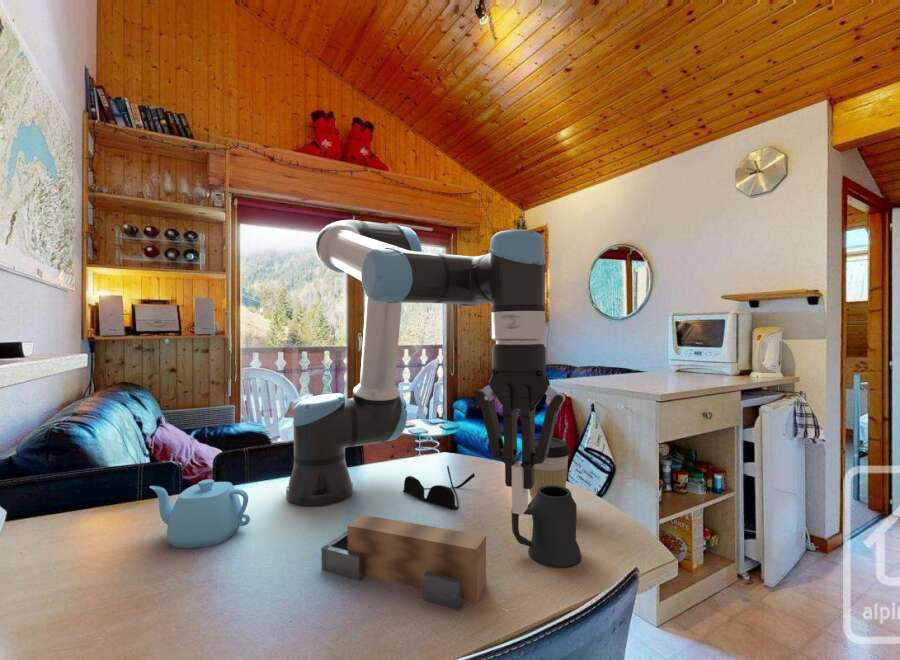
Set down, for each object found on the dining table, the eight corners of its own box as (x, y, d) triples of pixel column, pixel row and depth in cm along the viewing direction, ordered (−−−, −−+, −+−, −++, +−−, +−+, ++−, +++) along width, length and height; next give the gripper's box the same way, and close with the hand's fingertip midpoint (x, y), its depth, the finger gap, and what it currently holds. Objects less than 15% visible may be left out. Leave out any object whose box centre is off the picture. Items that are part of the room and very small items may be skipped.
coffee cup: (566, 503, 99) (566, 437, 99) (574, 523, 89) (574, 449, 89) (522, 502, 100) (522, 436, 100) (525, 521, 90) (525, 448, 90)
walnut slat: (347, 574, 72) (347, 525, 72) (363, 561, 76) (362, 514, 76) (477, 605, 64) (476, 549, 64) (486, 587, 68) (485, 535, 68)
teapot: (166, 472, 90) (259, 468, 92) (166, 525, 90) (259, 520, 92) (129, 496, 77) (237, 490, 79) (130, 557, 77) (238, 550, 79)
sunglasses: (491, 495, 106) (491, 474, 106) (451, 514, 95) (451, 491, 95) (439, 479, 117) (439, 460, 117) (398, 495, 106) (398, 474, 106)
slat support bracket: (321, 572, 72) (321, 547, 72) (355, 547, 80) (355, 525, 80) (359, 583, 69) (358, 557, 69) (390, 556, 77) (390, 533, 77)
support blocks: (423, 602, 64) (423, 574, 64) (450, 571, 72) (450, 546, 72) (458, 612, 62) (458, 584, 62) (482, 579, 70) (481, 553, 70)
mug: (569, 540, 82) (569, 480, 82) (590, 567, 73) (590, 499, 73) (506, 545, 81) (505, 483, 81) (519, 572, 72) (519, 503, 72)
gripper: (465, 343, 62) (467, 512, 62) (559, 343, 56) (561, 529, 56) (484, 341, 68) (486, 494, 68) (570, 341, 63) (572, 507, 63)
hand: (520, 510), depth 62 cm, fingers closed
